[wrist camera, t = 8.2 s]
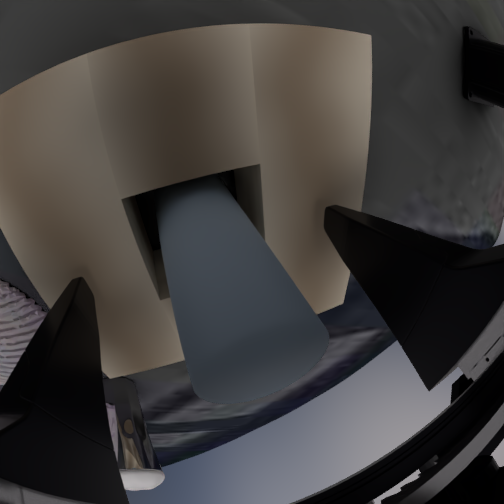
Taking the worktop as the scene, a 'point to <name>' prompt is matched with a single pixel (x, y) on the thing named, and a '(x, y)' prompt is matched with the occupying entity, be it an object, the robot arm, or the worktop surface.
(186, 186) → the dowel
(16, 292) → the seashell
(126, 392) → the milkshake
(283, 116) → the socket block
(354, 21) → the worktop surface
